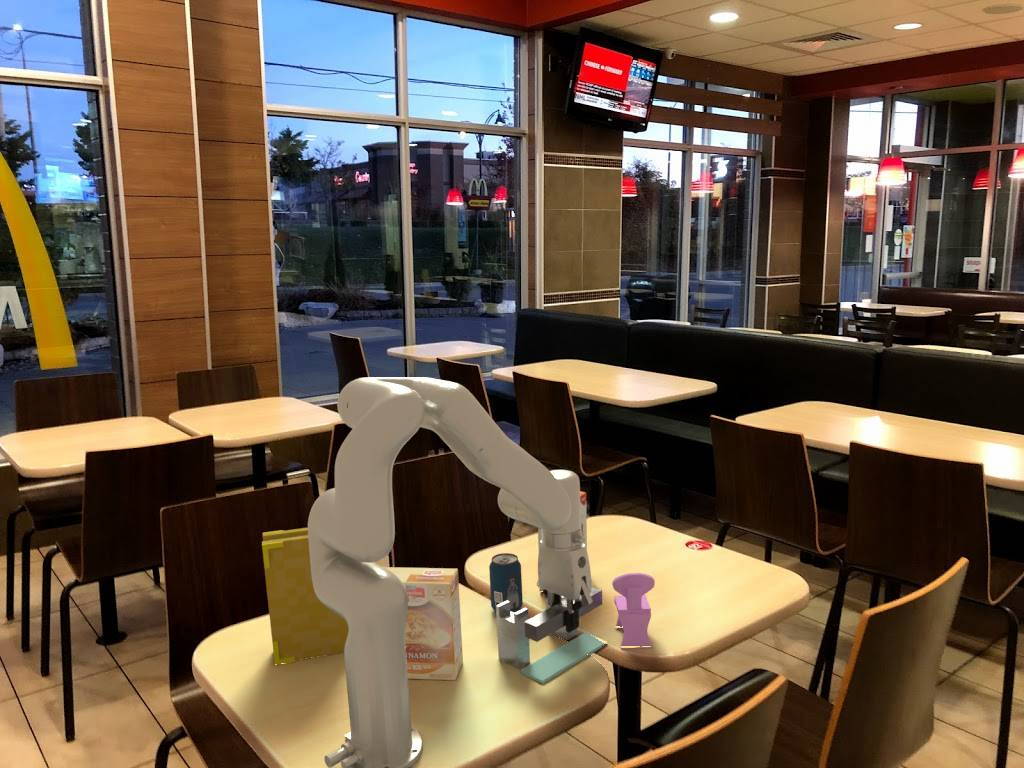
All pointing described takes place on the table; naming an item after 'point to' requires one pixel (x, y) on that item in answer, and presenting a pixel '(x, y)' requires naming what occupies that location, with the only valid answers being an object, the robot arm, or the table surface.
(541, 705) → the table surface
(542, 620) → the rail
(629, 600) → the toy chair
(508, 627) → the post near arm
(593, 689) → the table surface
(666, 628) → the table surface
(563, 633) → the post far
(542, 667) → the mat
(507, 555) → the soda can
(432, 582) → the coffeecake box
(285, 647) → the book
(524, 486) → the robot arm
